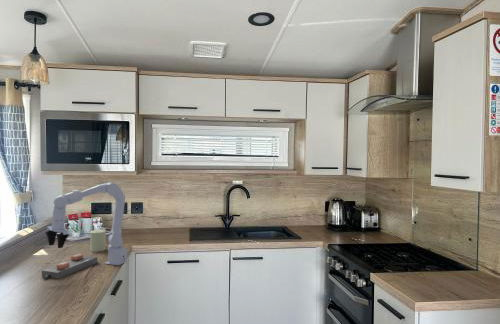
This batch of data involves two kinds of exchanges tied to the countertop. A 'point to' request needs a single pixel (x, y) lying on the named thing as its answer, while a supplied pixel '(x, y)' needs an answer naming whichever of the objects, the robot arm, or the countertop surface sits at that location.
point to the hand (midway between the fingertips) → (55, 246)
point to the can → (97, 240)
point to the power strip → (69, 267)
